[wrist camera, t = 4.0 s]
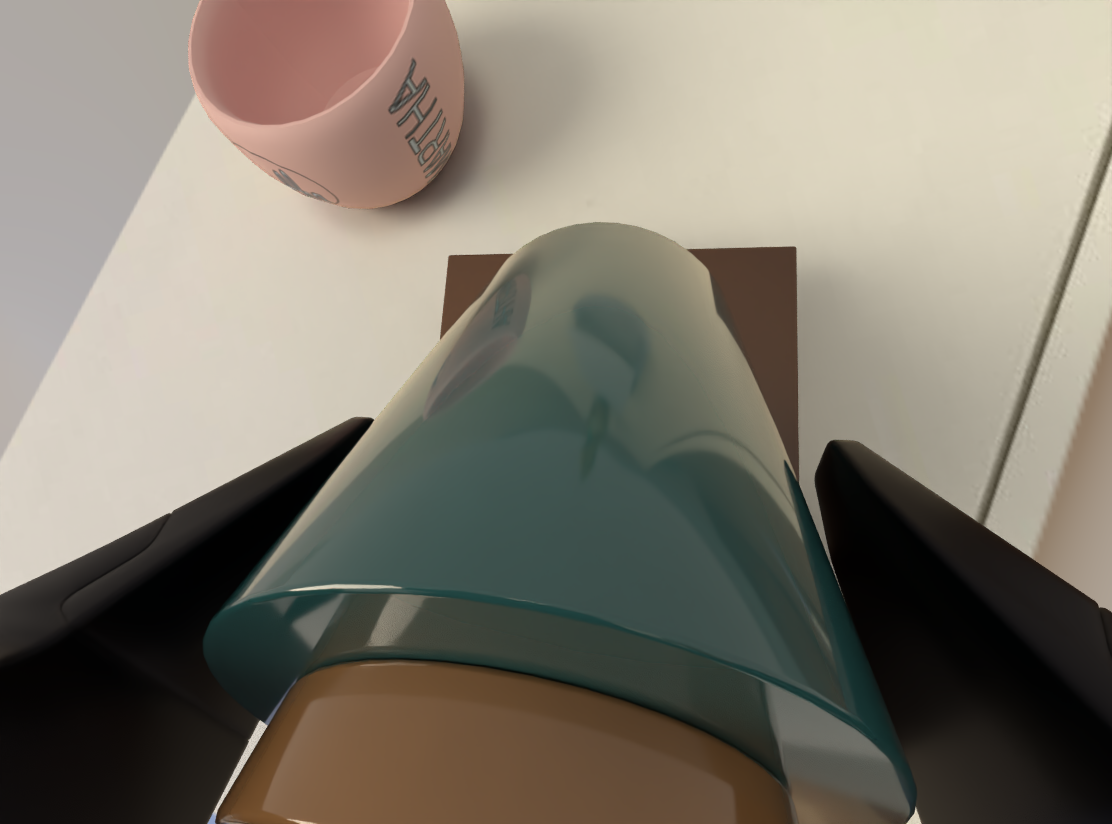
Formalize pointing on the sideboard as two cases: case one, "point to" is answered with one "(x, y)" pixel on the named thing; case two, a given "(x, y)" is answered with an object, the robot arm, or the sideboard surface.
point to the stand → (753, 297)
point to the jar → (562, 583)
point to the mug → (333, 91)
